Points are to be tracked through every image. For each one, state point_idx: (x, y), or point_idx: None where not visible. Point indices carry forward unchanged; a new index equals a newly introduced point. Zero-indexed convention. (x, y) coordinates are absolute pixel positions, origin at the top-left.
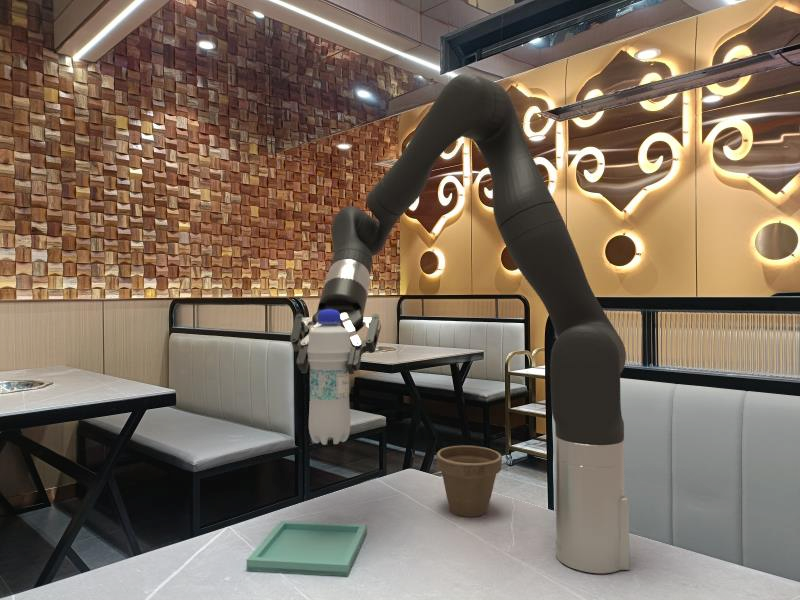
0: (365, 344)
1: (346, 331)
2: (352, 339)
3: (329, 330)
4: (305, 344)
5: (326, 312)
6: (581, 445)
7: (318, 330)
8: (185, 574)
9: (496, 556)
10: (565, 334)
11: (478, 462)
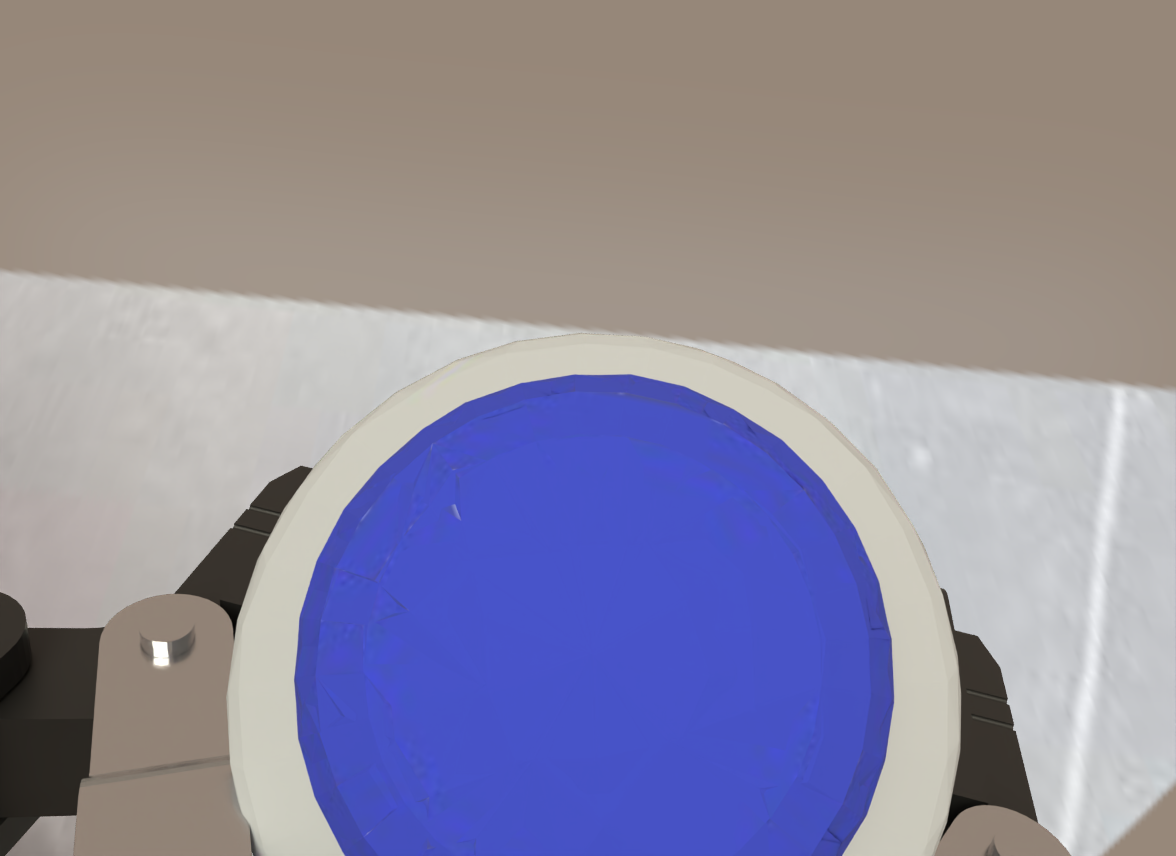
0: (53, 648)
1: (283, 514)
2: (214, 702)
3: (585, 360)
4: (977, 815)
5: (661, 391)
6: None
7: (783, 427)
8: (1068, 496)
9: (16, 514)
10: None
11: None
